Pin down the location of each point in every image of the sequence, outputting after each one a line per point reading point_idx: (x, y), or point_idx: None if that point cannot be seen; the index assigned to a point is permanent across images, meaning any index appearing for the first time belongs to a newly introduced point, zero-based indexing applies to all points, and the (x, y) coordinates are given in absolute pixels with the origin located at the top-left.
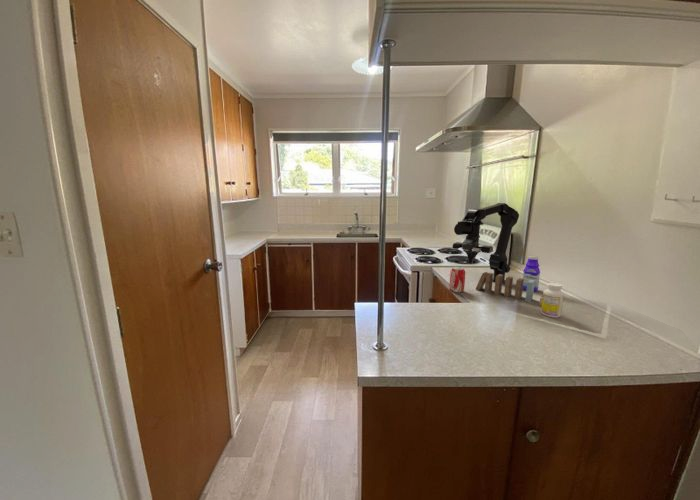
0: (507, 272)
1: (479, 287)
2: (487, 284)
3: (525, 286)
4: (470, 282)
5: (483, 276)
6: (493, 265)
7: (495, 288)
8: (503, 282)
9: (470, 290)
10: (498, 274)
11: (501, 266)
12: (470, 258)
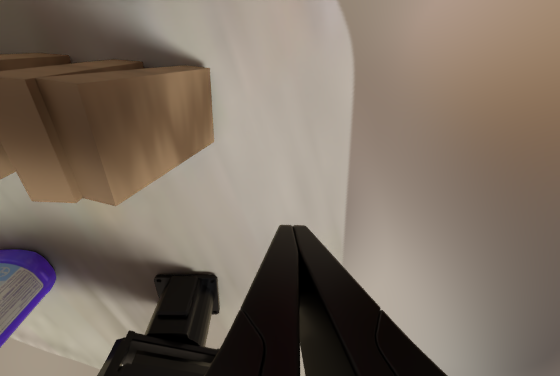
0: (115, 343)
1: (173, 67)
2: (83, 65)
3: (6, 262)
4: (293, 205)
5: (83, 77)
6: (179, 371)
7: (20, 56)
8: (155, 283)
9: (232, 23)
10: (164, 314)
11: (114, 373)
12: (315, 303)
